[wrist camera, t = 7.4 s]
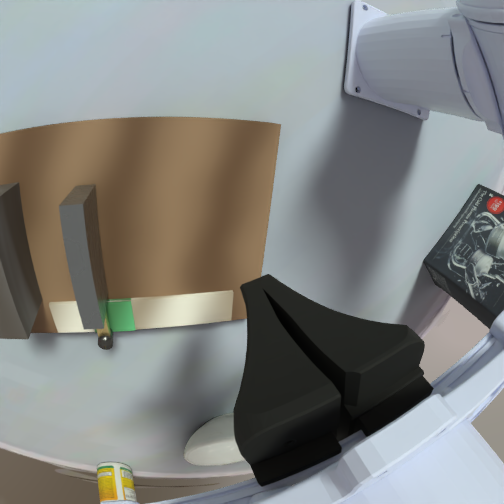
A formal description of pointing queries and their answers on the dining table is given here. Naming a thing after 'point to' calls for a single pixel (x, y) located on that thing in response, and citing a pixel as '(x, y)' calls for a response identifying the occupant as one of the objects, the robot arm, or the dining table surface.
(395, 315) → the dining table surface
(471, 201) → the small box
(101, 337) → the pad
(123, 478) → the supplement bottle
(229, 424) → the spoon rest
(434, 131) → the dining table surface
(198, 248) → the board
